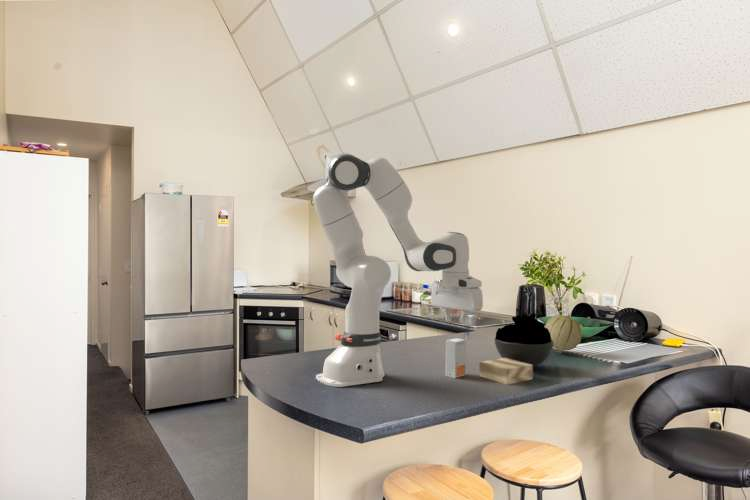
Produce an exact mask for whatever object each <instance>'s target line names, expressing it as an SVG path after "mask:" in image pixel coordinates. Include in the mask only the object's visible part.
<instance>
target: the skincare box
mask: <svg viewBox="0 0 750 500" xmlns="http://www.w3.org/2000/svg"><path fill="white" fill-rule="evenodd" d="M466 345H467V341H466V339H463V338H458V337H457V338H456V337H455V338H451V339H446V340H445V353H444V355H445V362H444V363H445V365H444V367H445V368H444V372H445V373H444V374H445V377H447V378H453V379H456V378H460V377H463V376H466V370H467V368H466V361H467V360H466V358H467V357H466V356H467V355H466V351H467V349H466V348H467V347H466Z"/></svg>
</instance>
